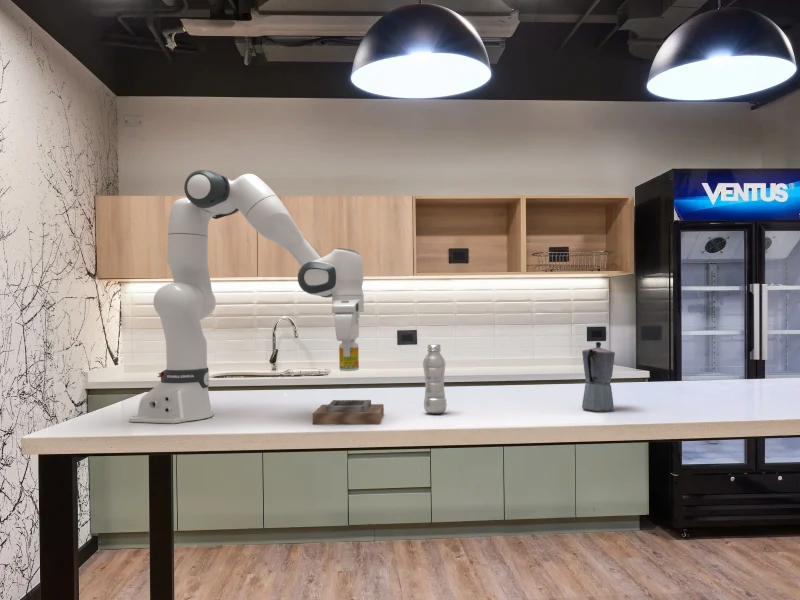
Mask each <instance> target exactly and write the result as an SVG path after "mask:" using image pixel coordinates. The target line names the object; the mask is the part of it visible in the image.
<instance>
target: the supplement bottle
mask: <svg viewBox="0 0 800 600" xmlns="http://www.w3.org/2000/svg"><path fill="white" fill-rule="evenodd" d="M356 341H357V338H356V335H355V336H354V339H352V340H350V354H351V355H350V356H349V357H344V356H343V347H342V342H341V343H340V344H339V345H338V346H339V347H338V351H339V352H338V357H339V363H338V364H339V371H341V372H355V371H358V370H359V367H360V365H359V363H360V362H359V361H360V360H359V343H358V342H356Z"/></svg>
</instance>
